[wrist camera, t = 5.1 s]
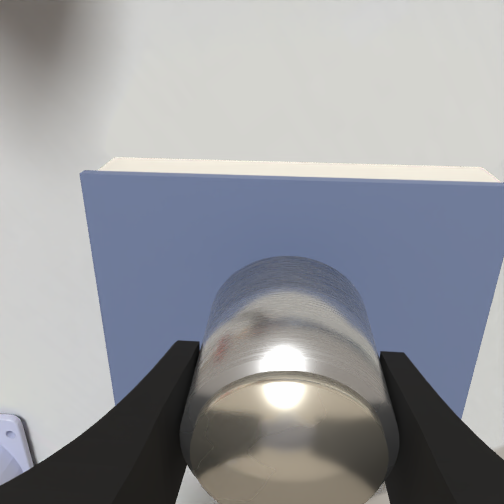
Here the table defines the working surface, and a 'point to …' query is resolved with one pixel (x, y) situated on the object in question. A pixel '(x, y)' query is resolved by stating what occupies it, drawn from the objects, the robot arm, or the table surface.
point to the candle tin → (289, 391)
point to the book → (296, 251)
